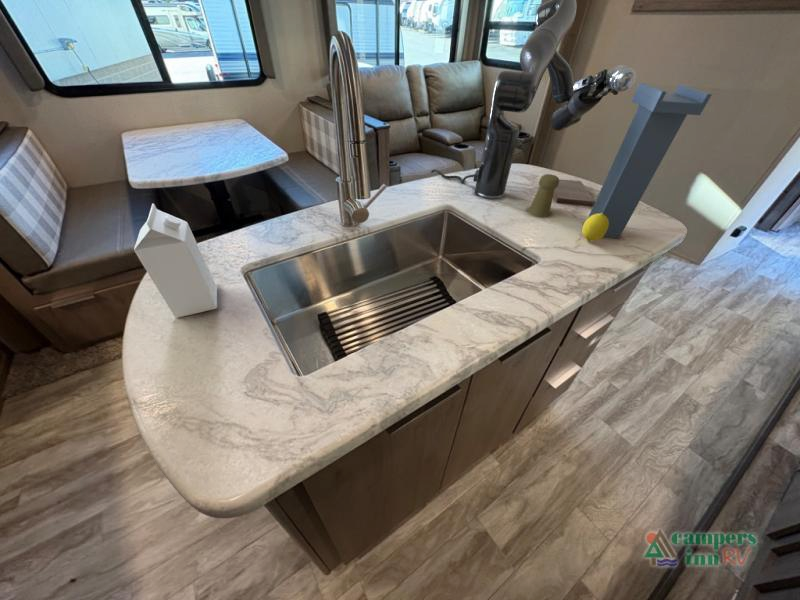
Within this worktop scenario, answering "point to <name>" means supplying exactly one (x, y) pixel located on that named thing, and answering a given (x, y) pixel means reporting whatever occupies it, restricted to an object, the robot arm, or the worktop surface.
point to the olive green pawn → (544, 196)
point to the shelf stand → (644, 150)
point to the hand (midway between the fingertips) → (611, 73)
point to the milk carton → (176, 264)
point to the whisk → (620, 78)
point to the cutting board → (572, 193)
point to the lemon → (595, 227)
